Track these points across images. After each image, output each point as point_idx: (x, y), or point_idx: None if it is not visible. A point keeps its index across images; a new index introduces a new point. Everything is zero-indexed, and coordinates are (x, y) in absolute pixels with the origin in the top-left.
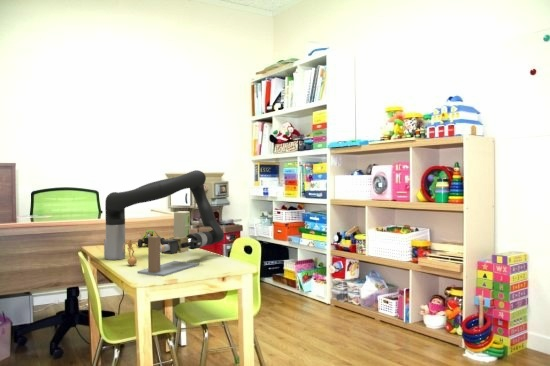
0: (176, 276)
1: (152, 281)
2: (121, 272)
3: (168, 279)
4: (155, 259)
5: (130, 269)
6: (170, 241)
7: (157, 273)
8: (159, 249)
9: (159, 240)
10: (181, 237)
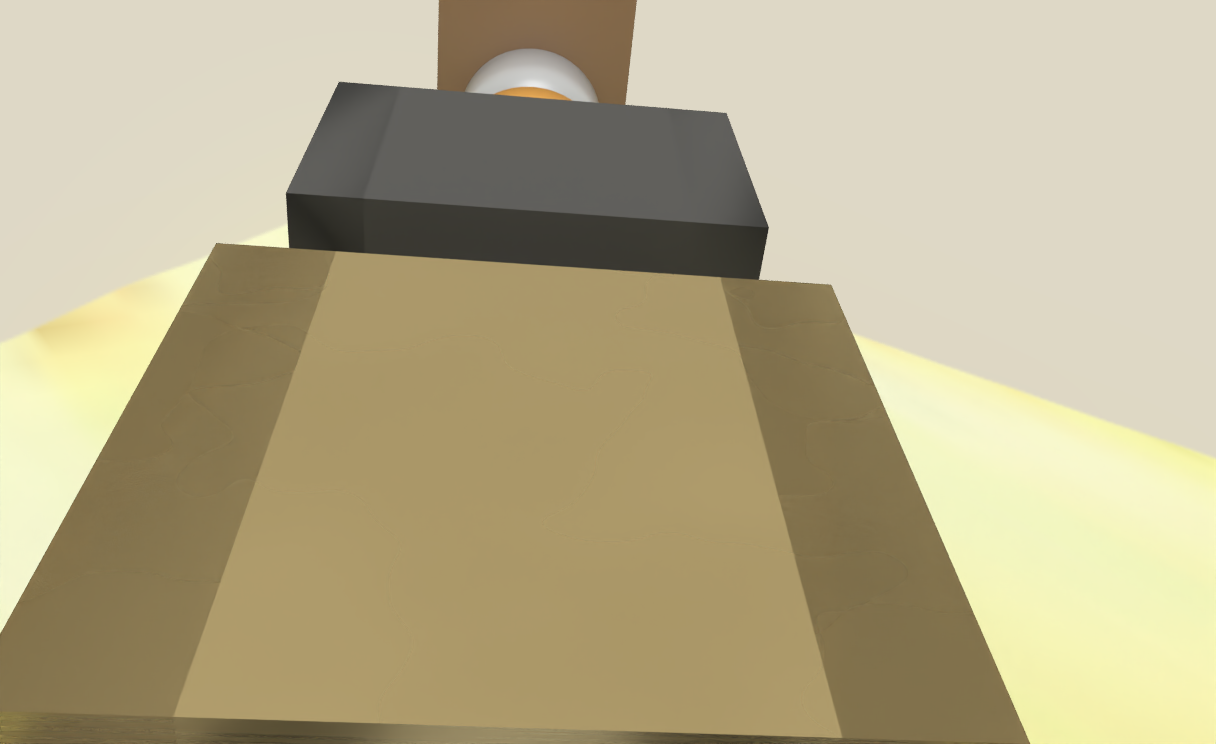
0: (67, 419)
1: (277, 238)
2: (965, 393)
3: (122, 309)
4: None
5: (1068, 530)
6: (398, 94)
7: None
8: (438, 84)
9: None
10: (441, 533)
